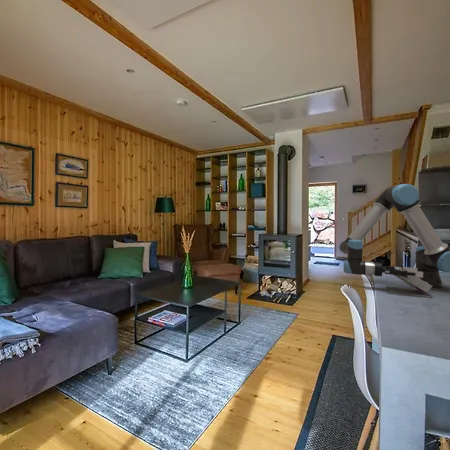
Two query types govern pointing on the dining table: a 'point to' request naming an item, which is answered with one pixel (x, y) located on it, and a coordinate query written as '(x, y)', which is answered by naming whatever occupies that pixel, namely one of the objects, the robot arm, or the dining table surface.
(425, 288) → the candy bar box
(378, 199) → the robot arm
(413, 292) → the rubber mat
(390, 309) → the dining table surface
